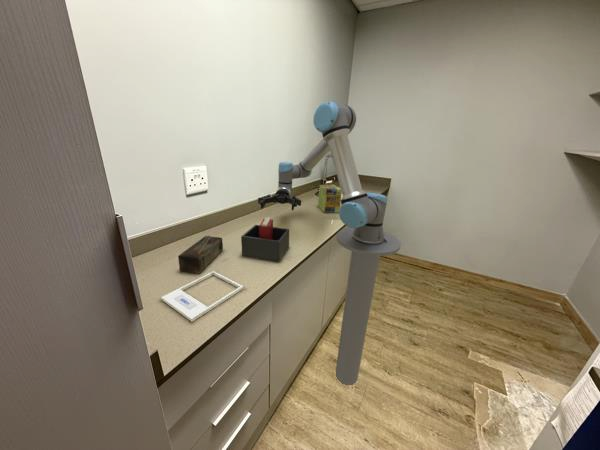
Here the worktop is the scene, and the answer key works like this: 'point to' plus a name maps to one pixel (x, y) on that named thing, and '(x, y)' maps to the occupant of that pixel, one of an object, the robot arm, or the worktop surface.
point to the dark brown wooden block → (200, 254)
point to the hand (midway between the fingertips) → (277, 206)
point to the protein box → (329, 198)
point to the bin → (265, 244)
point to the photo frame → (192, 306)
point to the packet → (266, 229)
